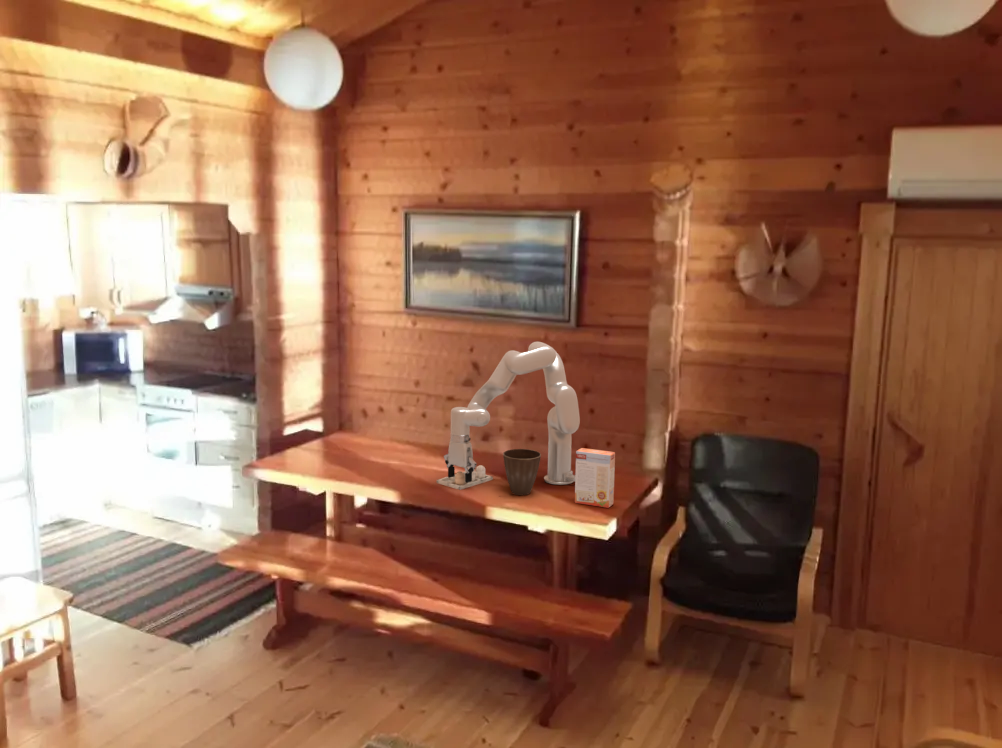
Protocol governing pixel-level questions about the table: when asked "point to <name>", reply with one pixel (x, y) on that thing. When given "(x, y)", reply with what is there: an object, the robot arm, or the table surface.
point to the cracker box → (594, 477)
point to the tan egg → (459, 478)
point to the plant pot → (521, 469)
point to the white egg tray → (451, 482)
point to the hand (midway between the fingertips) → (459, 479)
